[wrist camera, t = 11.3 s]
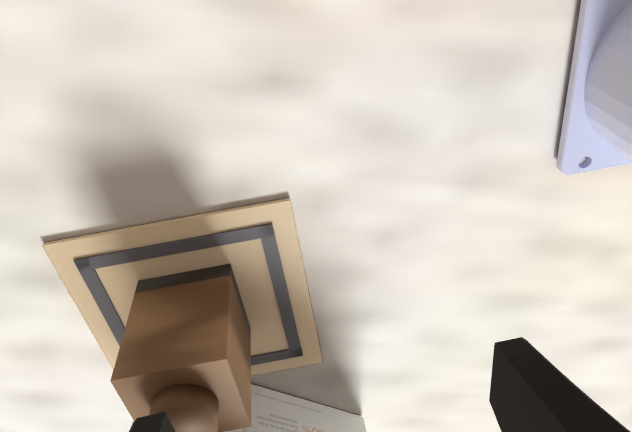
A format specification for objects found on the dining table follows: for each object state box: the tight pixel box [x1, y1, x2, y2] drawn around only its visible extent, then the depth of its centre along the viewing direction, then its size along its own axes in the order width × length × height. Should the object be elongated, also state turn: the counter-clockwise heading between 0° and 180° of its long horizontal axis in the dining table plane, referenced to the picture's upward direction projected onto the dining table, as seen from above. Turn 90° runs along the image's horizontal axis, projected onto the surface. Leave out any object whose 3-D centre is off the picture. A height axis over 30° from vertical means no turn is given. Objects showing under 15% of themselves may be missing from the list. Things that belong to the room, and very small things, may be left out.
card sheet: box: [42, 198, 323, 376], centre depth 23 cm, size 10×10×1 cm
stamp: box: [111, 263, 251, 432], centre depth 20 cm, size 4×4×6 cm
